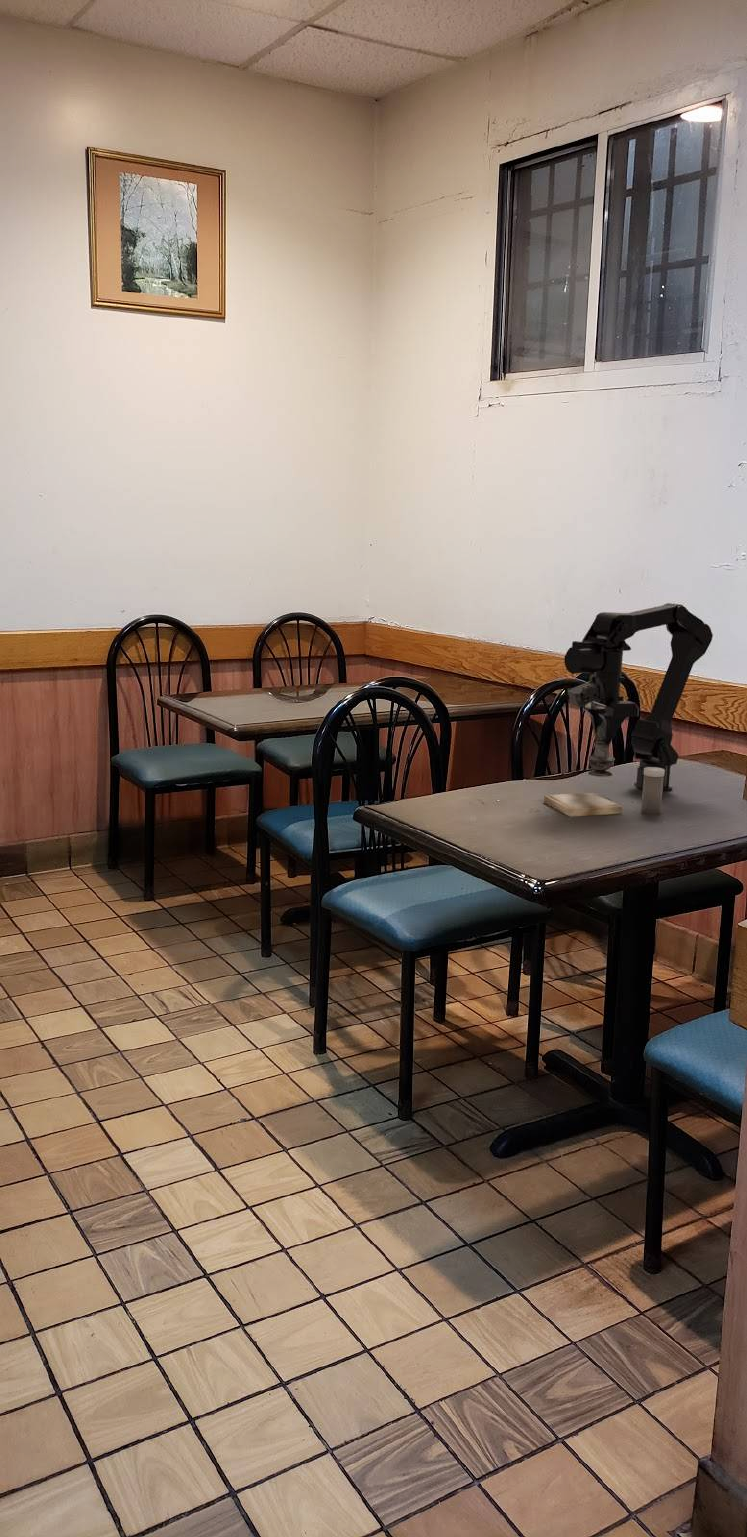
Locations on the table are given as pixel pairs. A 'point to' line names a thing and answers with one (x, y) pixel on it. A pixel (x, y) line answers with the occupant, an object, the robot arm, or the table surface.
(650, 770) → the pepper shaker
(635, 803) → the table surface
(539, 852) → the table surface
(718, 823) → the table surface
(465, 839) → the table surface
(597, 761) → the salt shaker
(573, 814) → the maple picture frame
